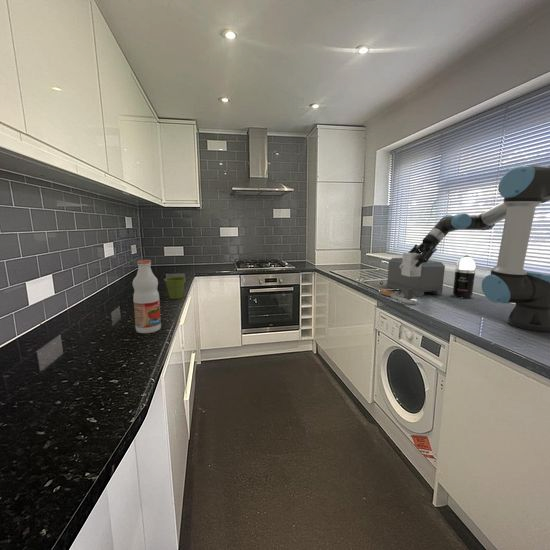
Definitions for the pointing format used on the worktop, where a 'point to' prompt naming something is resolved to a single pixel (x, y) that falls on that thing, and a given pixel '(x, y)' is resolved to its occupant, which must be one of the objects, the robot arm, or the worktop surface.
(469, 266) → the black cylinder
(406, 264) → the socket
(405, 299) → the ratchet
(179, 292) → the plant pot
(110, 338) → the worktop surface
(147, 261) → the fruit juice
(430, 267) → the toaster
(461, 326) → the worktop surface
